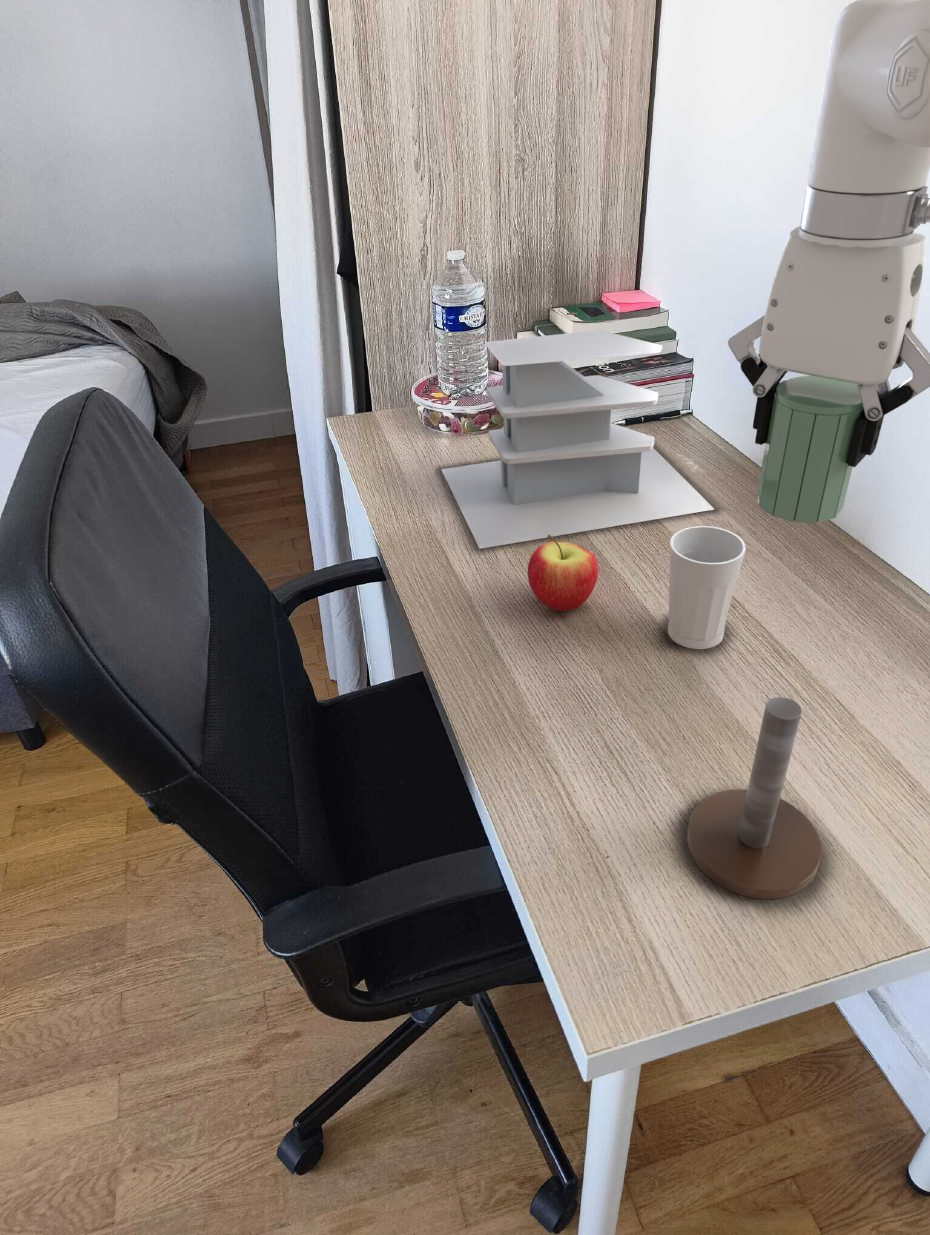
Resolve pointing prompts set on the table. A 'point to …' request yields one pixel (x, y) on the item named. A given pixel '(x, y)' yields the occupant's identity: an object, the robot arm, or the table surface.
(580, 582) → the apple
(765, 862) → the towel stand
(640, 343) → the file organizer
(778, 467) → the green cup
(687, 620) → the cup
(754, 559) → the table surface
